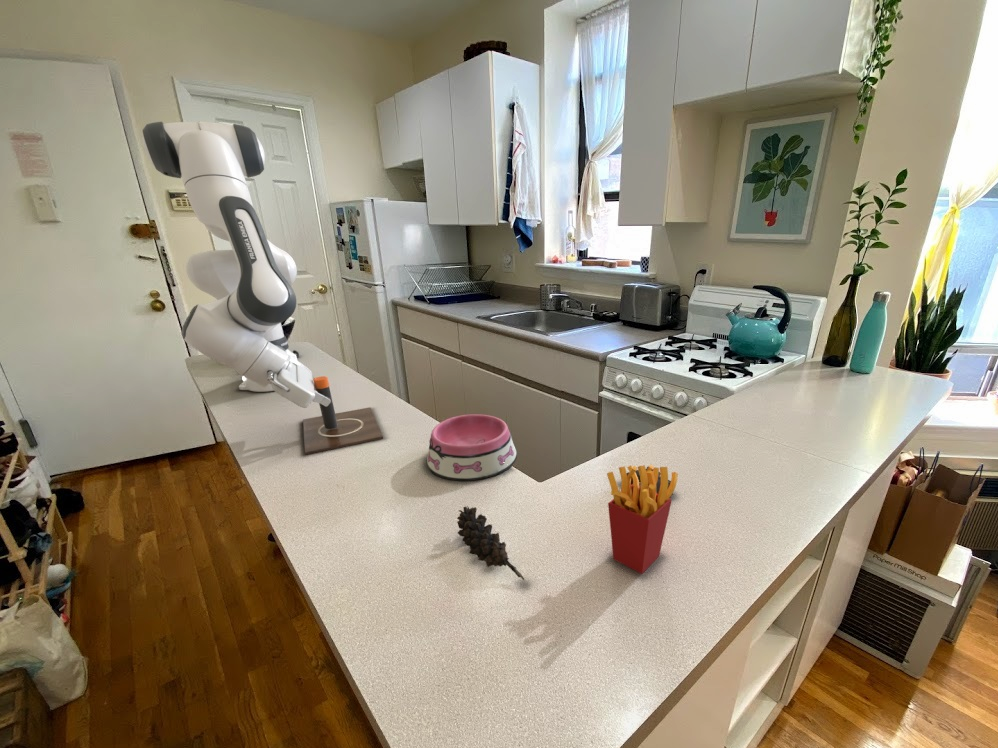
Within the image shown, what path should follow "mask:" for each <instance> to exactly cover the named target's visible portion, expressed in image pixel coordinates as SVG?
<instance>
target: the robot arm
mask: <svg viewBox="0 0 998 748" xmlns="http://www.w3.org/2000/svg"><path fill="white" fill-rule="evenodd" d="M141 143H142V149H143V151H144V154H145V156H146V157H147V159H148V161H149V162H150V163H151V164H152V166H153V167H154V169H155V170H156V171H158V172H159V173H160V174H162V175H163V176H166V177H170V178H176V179H182V183H183V187H184V190H185V194H186V197H187V199H188V202H189V204H190V207H191V209H192V211H193V212H194V214H195V216H196V218H197V220H198V221H199V222H200V223H202V224H203V225H204V227H205V228H206V229H207V231H208V232H210V234H212V235H213V236H215V237H217V238H218V239H220V240H223V241H226V242H229V243H230V246H231V248H232V249H217V250H216V249H215V250H207V251H202V252H201V251H200V252H198V253H194V254H191V255H190V256H189V257H188V259H187V262H186V265H185V269H186V271H185V272H186V275H187V277H188V279H189V281H190V282H191V284H193V286H194V287H196V289H198V290H199V291H201V292H204V293H206V294H208V295H209V296H212V297H213V298H215V300H214V301H211V302H207V303H199V304H196V305H195V306H193V307H192V309H190V311H189V313H188V316H187V317H186V319H185V321H184V322H183V325H182V327H181V337H182V339H183V341H185V343H186V344H187V345H189V346H190V347H192V348H193V349H195V351H197V352H199V353H200V354H202V355H203V356H205V357H207V358H209V359H211V360H213V361H214V362H216V363H218V364H220V365H224V366H227V367H228V368H229V367H230V368H231V369H232V370H234V371H235V372H237V374H239V375H240V376H241V377H242V382H241V383H240V384H239V385H238V390H240V391H251V392H256V393H257V392H258V393H260V392H261V393H262V392H273V391H274V392H275V393H276V394H277V395H280V396H281V397H283V398H285V399H286V400H287V401H289V402H290V403H293V404H294V405H296V406H298V407H301V408H303V409H305V408H308V407H309V406H310V405H311V403H312V402H313V403H317V404H319V403H320V404H322V405H324V406H328V405H329V404H330V403H331V400H330V398H328V397H327V396H325V395H324V396H323V395H321V394H320V393H318V392H317V391H316V388H315V385H314V381H313V379H314V377H313V371H311V370H310V368H308V367H307V366H306V365H304V364H303V363H302V362H300V361H299V360H298V358H299V356H300V354H299V352H298V351H297V350H295V349H293V350H292V351H291V350H290V349H289V347H290V346H289V341H288V339H287V337H286V335H285V334H284V330H283V326H282V323H283V322H285V321H287V320H288V319H290V318H291V317H292V315H294V313H295V310H296V308H297V297H296V293H295V291H294V289H293V287H292V285H293V284H294V283H295V281H296V279H297V277H298V268H297V263H296V262H295V260H294V259H293V257H292V256H291V254H289V253H288V252H287V251H285V250H284V249H282V248H280V247H278V246H276V245H274V243H272V242H271V241H270V240H269V239H268V238H267V236H266V233H265V231H264V228H263V225H262V223H261V221H260V218H259V215H258V213H257V212H256V210H255V208H254V203H253V200H252V197H251V193H250V190H249V187H248V183H247V180H246V178H245V177H247V178H248V179H250V178H254V177H257V176H259V175H261V174H262V173H263V172H264V170H265V165H266V153H265V149H264V147H263V144H262V142H261V140H260V139H259V138H258V136H257V135H256V133H255V132H254V131H253V130H252V129H251V128H250V127H248V126H245V125H241V124H237V123H233V124H227V123H221V122H213V121H203V120H200V121H199V120H198V121H177V122H176V121H175V122H166V123H165V122H163V121H154V122H150V123H146V125H144V127H143V128H142V137H141Z"/></svg>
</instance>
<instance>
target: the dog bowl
mask: <svg viewBox="0 0 998 748" xmlns="http://www.w3.org/2000/svg"><path fill="white" fill-rule="evenodd" d="M428 444H429V445H428V452H427V458H426V466H427V468H428V470H429V471H430V472H431V473H432V474H434V475H435V476H437V477H440V478H442V479H445V480H450V481H459V482H460V481H461V482H467V481H469V482H471V481H479V480H484V479H488V478H492V477H495V476H497V475H499V474H502V473H505V471H507V470H509V469H510V468H511V467H512V466H513V465H514V464H515V462H516V460H517V459H518V452H517V449H516V447H515V444H514V441H513V437H512V433H511V432H510V429H509V427H508V424H507V423H506V422H505V421H504V420H503V419H501V418H500V417H497V416H494V415H489V414H481V413H480V414H477V413H476V414H462V415H456V416H453V417H450V418H447V419H445V420H443V421H441V422H439V423H438V424H436V426H434V427H433V429H432V430H431V434H430V437H429V443H428ZM503 462H505V463H506V464H505V463H503ZM507 464H508V465H507ZM510 466H511V467H510Z"/></svg>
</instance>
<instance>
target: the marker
mask: <svg viewBox="0 0 998 748" xmlns="http://www.w3.org/2000/svg"><path fill="white" fill-rule="evenodd" d="M328 378H329V377H328V376H326V375H325V376H317V377H315V378H314V377H313V382H314V385H315V388H316V391H317V392H318V393H320V394H321V395H323V396H324V395H325V396H327V397H328V398H330V400H331V403H330V404H329V405H328V406H324V405H322V404H320V403H318V405H319V409H320V413H321V416H322V418H323V422H324V426H325V428H326V429H333V428H336V427H337V426H338V424H337V419H336V415H335V414H336V411H335V407H334V402H333V397H332V394H331V389H330V383H329V379H328Z"/></svg>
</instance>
